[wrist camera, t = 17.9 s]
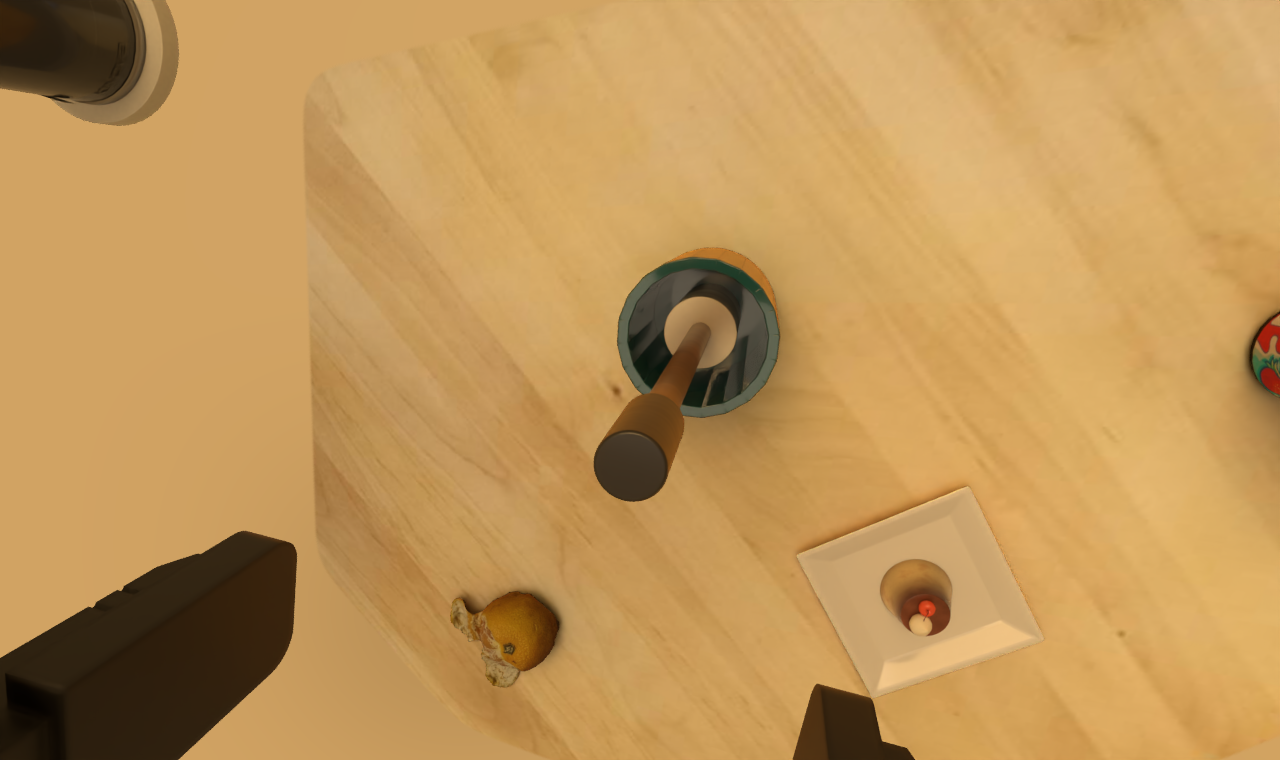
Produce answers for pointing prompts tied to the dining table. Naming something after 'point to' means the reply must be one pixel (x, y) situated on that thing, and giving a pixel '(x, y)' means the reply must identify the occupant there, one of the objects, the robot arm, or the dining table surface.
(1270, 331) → the beverage can
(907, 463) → the dining table surface
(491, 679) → the fruit
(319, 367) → the dining table surface
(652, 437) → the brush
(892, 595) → the dessert
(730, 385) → the cup
